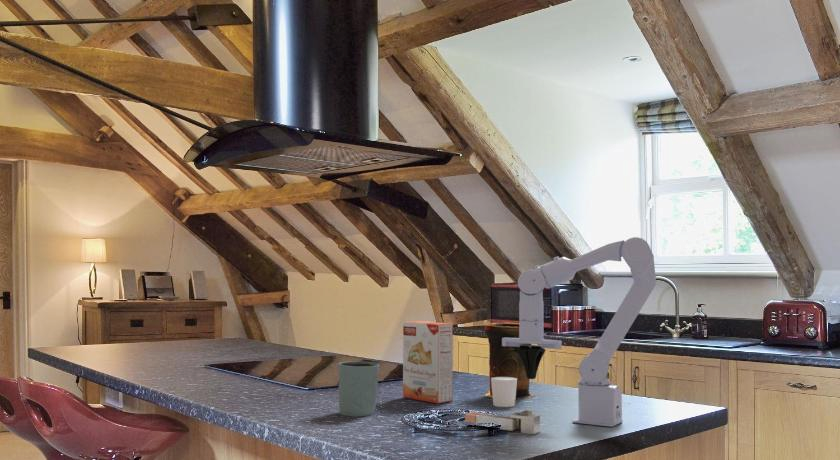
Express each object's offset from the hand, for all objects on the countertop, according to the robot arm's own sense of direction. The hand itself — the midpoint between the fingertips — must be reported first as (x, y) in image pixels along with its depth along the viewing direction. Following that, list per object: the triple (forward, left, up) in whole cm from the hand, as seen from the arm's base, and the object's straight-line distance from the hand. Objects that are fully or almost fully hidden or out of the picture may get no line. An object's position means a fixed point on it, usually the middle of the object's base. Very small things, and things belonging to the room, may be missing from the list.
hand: (531, 378), depth 190 cm
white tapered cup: (+14, -14, -10) cm, 22 cm away
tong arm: (+3, +14, -9) cm, 17 cm away
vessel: (+20, -30, -10) cm, 37 cm away
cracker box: (+35, -10, -10) cm, 38 cm away
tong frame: (0, +15, -9) cm, 18 cm away
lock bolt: (-3, +12, -9) cm, 15 cm away
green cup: (+38, +17, -10) cm, 43 cm away
